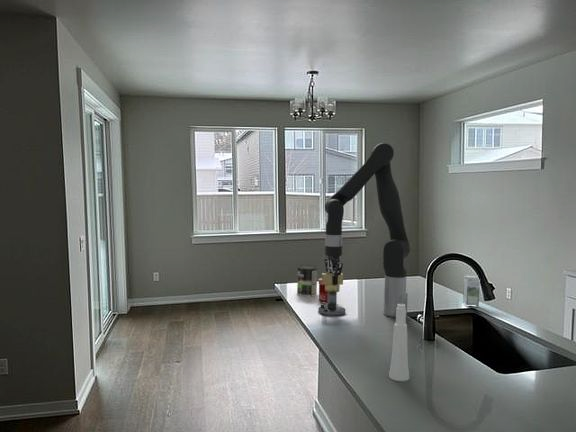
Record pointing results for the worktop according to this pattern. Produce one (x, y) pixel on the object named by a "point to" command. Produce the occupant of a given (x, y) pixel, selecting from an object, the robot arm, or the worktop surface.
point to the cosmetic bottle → (399, 347)
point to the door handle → (331, 282)
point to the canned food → (323, 294)
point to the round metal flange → (331, 306)
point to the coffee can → (307, 280)
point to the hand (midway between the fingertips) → (333, 283)
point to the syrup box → (471, 290)
